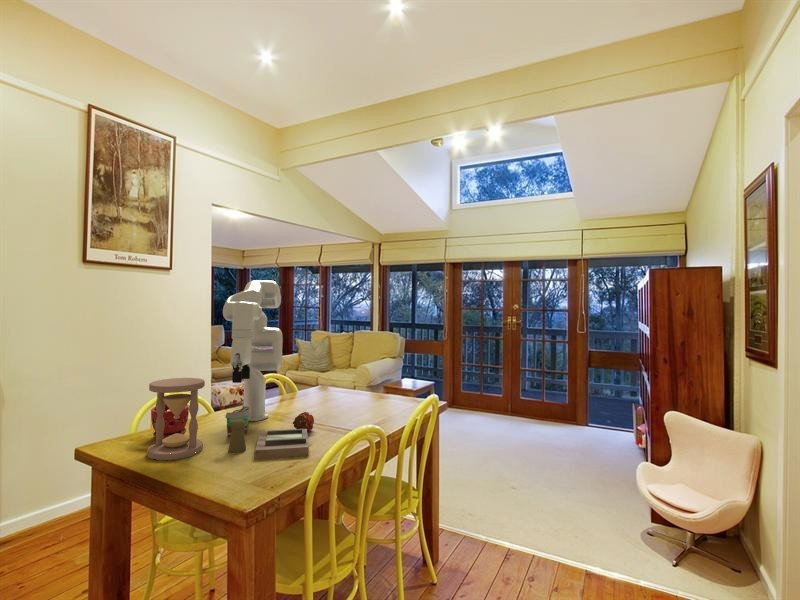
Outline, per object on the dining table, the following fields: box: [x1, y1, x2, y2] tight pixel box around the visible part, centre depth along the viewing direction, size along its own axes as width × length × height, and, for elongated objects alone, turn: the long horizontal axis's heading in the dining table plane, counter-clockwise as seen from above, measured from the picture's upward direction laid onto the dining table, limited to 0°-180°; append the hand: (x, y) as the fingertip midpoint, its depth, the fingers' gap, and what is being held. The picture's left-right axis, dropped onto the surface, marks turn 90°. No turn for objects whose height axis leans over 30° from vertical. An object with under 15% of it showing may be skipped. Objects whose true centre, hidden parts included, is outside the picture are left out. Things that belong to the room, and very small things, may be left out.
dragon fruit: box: [292, 411, 315, 431], centre depth 176 cm, size 8×8×12 cm
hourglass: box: [146, 377, 206, 461], centre depth 148 cm, size 18×18×25 cm
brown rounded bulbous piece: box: [227, 420, 247, 455], centre depth 150 cm, size 6×6×11 cm
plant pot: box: [150, 403, 190, 439], centre depth 165 cm, size 13×13×12 cm
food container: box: [225, 405, 251, 438], centre depth 169 cm, size 12×6×10 cm, turn 168°
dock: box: [254, 428, 310, 460], centre depth 155 cm, size 22×18×4 cm
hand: (241, 380), depth 154 cm, fingers open, 9 cm apart
